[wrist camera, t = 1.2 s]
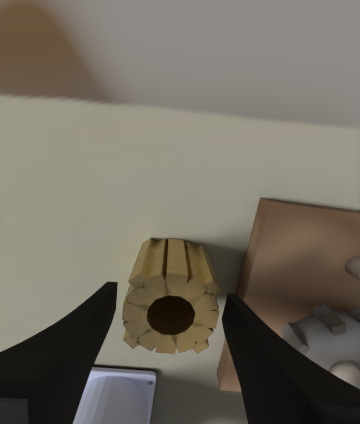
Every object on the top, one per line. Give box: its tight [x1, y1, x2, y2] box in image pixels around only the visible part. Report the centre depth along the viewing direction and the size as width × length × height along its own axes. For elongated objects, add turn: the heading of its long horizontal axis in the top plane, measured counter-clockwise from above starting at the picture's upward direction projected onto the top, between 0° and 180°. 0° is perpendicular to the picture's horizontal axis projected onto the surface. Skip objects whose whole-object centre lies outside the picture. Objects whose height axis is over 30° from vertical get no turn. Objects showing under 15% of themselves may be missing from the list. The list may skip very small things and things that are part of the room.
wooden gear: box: [122, 238, 221, 354], centre depth 14 cm, size 6×6×5 cm
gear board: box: [217, 198, 360, 392], centre depth 15 cm, size 18×14×4 cm
